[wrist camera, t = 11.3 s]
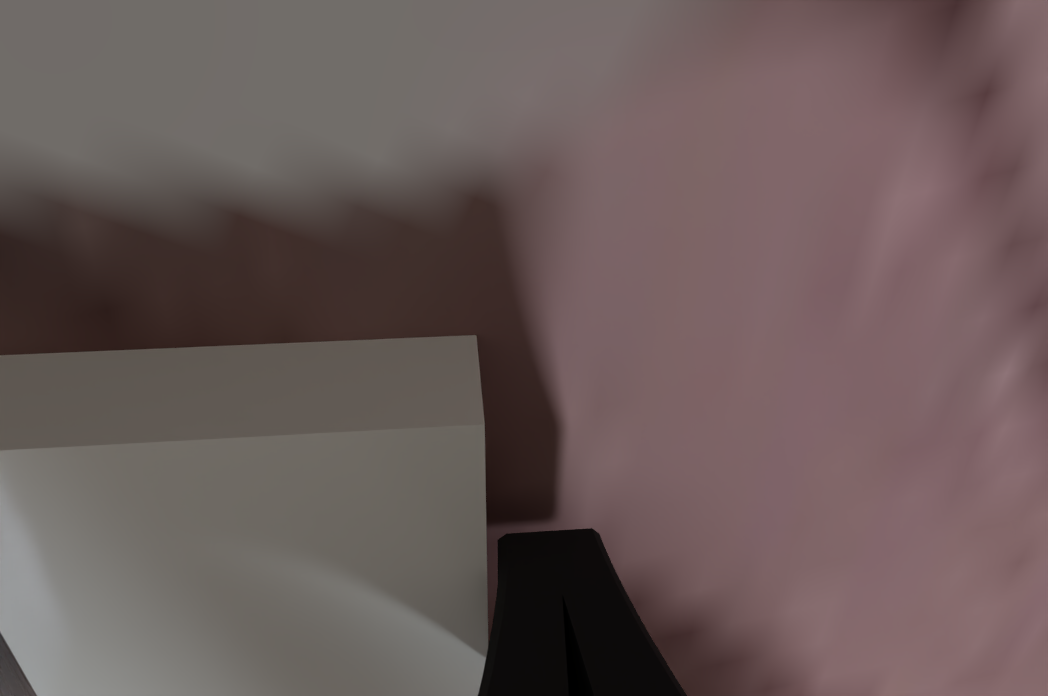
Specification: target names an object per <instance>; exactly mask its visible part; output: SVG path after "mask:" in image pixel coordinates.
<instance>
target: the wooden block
mask: <svg viewBox="0 0 1048 696" xmlns="http://www.w3.org/2000/svg"><path fill="white" fill-rule="evenodd" d="M0 696H37V695H36V693H35V691H34V690H33V688H32V686H31V685H30V683H29V681H28V679H27V678H26V676H25V674H24V672H23V671H22V669H21V667H20V665H19V664H18V662H17V660H16V658H15V657H14V655H13V653H12V651H11V650H10V648H9V646H8V644H7V643H6V641H5V639H4V637H3V636H2V634H1V632H0Z"/></svg>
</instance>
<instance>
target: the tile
mask: <svg viewBox="0 0 1048 696" xmlns="http://www.w3.org/2000/svg"><path fill="white" fill-rule="evenodd" d="M0 632H1V634H2V636H3V637H4V639H5V641H6V643H7V644H8V646H9V648H10V650H11V651H12V653H13V655H14V657H15V658H16V660H17V662H18V664H19V665H20V667H21V669H22V671H23V672H24V674H25V676H26V678H27V679H28V681H29V683H30V685H31V686H32V688H33V690H34V691H35V693H36V695H37V696H478V693H479V689H480V685H481V680H482V676H483V671H484V666H485V661H486V656H487V651H488V596H487V534H486V472H485V422H484V411H483V400H482V390H481V379H480V368H479V357H478V347H477V336H476V335H466V336H442V337H419V338H395V339H372V340H349V341H325V342H302V343H278V344H255V345H231V346H208V347H184V348H161V349H137V350H114V351H90V352H67V353H44V354H20V355H0Z"/></svg>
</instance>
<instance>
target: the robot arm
mask: <svg viewBox="0 0 1048 696" xmlns="http://www.w3.org/2000/svg"><path fill="white" fill-rule="evenodd" d="M478 696H687V695H686V693H685V692H684V690H683V689H682V687H681V686H680V684H679V683H678V681H677V680H676V678H675V676H674V675H673V673H672V671H671V670H670V668H669V666H668V665H667V663H666V661H665V660H664V658H663V657H662V655H661V653H660V652H659V650H658V648H657V647H656V645H655V643H654V642H653V640H652V638H651V637H650V635H649V633H648V632H647V630H646V628H645V626H644V625H643V623H642V621H641V619H640V617H639V616H638V614H637V612H636V610H635V608H634V606H633V604H632V603H631V601H630V599H629V597H628V595H627V593H626V591H625V589H624V587H623V585H622V583H621V581H620V579H619V577H618V575H617V573H616V571H615V569H614V567H613V565H612V563H611V561H610V558H609V556H608V554H607V552H606V549H605V547H604V545H603V542H602V540H601V537H600V535H599V533H597V532H596V531H595V530H593V529H592V528H591V529H575V530H559V531H543V532H527V533H511V534H505V535H504V536H503V537H501V538H500V539H499V540H498V588H497V597H496V605H495V612H494V619H493V626H492V631H491V636H490V641H489V646H488V651H487V656H486V661H485V666H484V671H483V676H482V680H481V685H480V689H479V693H478Z"/></svg>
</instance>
